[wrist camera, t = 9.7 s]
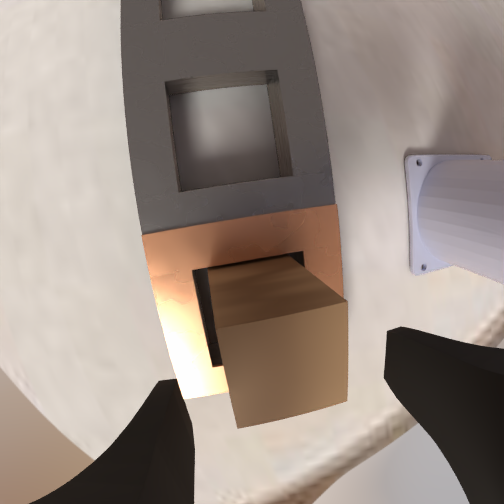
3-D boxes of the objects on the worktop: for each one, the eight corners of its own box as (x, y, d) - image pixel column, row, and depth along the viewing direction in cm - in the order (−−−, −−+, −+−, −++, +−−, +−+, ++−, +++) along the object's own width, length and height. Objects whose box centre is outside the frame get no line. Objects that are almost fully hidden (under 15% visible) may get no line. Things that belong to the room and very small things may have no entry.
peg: (276, 246, 18) (347, 301, 9) (284, 311, 19) (347, 400, 10) (205, 258, 17) (215, 329, 9) (218, 323, 18) (237, 428, 10)
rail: (271, -48, 14) (281, -71, 11) (328, 343, 20) (344, 364, 17) (129, -36, 13) (123, -59, 10) (184, 373, 19) (183, 398, 16)
